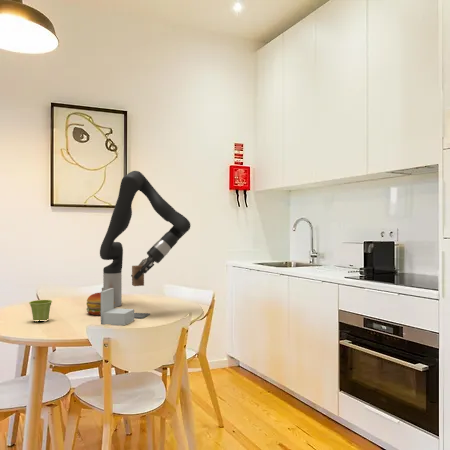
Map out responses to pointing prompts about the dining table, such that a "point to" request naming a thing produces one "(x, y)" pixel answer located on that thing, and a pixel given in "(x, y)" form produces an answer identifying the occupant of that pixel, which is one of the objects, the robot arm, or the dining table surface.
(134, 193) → the robot arm
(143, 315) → the mat
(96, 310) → the burger
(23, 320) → the dining table surface
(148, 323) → the dining table surface
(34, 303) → the plant pot
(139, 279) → the walnut block
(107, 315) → the ledge
